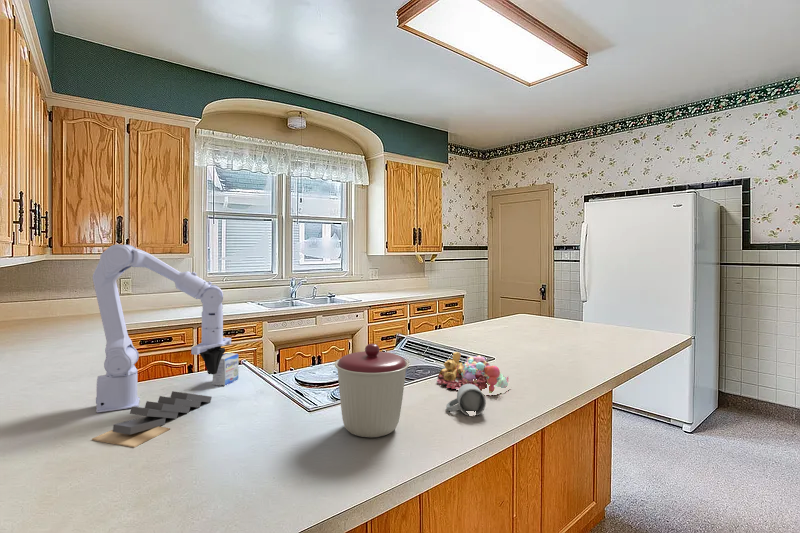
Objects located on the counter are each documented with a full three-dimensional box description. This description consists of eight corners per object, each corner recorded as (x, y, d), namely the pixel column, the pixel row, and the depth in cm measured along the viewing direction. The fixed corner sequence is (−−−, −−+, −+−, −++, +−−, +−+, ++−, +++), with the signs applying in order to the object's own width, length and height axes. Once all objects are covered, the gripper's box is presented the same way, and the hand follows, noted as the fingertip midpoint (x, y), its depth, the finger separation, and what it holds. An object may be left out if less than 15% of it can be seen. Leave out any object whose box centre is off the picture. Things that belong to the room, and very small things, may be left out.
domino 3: (188, 413, 114) (161, 410, 105) (172, 410, 115) (144, 407, 106) (190, 406, 115) (163, 403, 106) (174, 404, 116) (146, 401, 107)
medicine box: (224, 386, 137) (224, 359, 137) (212, 385, 138) (212, 358, 138) (238, 379, 145) (239, 353, 144) (226, 378, 146) (227, 352, 145)
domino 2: (176, 418, 110) (146, 416, 101) (160, 416, 112) (129, 413, 103) (178, 412, 111) (148, 409, 102) (162, 409, 112) (131, 406, 103)
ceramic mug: (480, 406, 124) (480, 380, 123) (485, 416, 116) (486, 389, 116) (444, 406, 124) (444, 380, 123) (447, 416, 116) (448, 389, 116)
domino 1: (164, 424, 107) (130, 434, 97) (148, 421, 108) (112, 431, 98) (165, 417, 107) (130, 427, 97) (149, 415, 108) (113, 424, 99)
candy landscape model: (427, 388, 139) (428, 360, 139) (447, 370, 161) (447, 346, 161) (506, 400, 130) (507, 369, 130) (516, 379, 152) (516, 353, 152)
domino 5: (210, 402, 122) (186, 399, 113) (195, 400, 124) (170, 397, 115) (211, 396, 123) (187, 393, 114) (196, 394, 124) (172, 391, 115)
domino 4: (199, 407, 118) (174, 404, 109) (184, 405, 120) (157, 402, 110) (201, 401, 119) (175, 398, 110) (186, 399, 120) (159, 396, 111)
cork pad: (134, 447, 94) (134, 446, 94) (91, 440, 97) (91, 438, 97) (170, 429, 104) (170, 428, 104) (130, 423, 107) (130, 422, 107)
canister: (380, 453, 94) (382, 356, 93) (318, 433, 103) (319, 345, 103) (420, 425, 109) (422, 342, 108) (363, 410, 119) (364, 333, 118)
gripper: (206, 332, 118) (206, 382, 118) (239, 324, 132) (239, 368, 132) (185, 331, 120) (185, 379, 120) (220, 322, 134) (220, 366, 134)
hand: (212, 373), depth 126 cm, fingers closed
